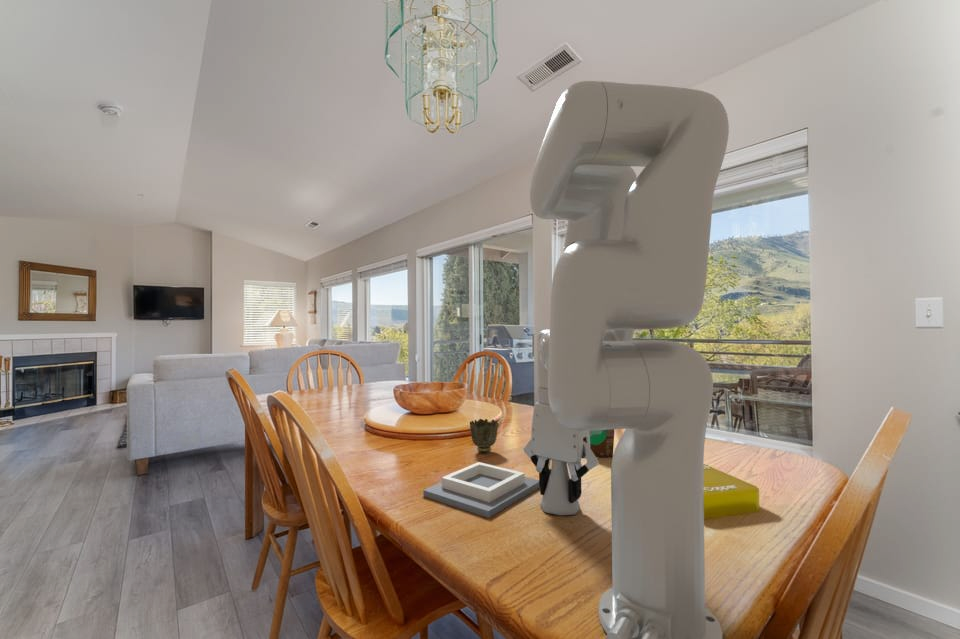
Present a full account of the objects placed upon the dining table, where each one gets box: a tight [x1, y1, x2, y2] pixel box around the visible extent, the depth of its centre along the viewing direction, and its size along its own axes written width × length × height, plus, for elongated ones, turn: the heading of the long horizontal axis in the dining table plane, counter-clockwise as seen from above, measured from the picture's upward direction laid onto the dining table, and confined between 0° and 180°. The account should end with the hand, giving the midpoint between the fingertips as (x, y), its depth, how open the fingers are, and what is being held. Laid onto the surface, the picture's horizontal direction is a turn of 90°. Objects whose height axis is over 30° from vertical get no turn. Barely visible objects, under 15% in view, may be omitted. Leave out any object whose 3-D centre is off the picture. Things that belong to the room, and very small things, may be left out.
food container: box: [589, 429, 616, 459], centre depth 111 cm, size 12×6×10 cm, turn 25°
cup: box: [469, 418, 499, 454], centre depth 113 cm, size 8×7×8 cm
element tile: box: [703, 463, 760, 520], centre depth 82 cm, size 15×15×5 cm
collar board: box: [422, 461, 540, 519], centre depth 87 cm, size 18×16×3 cm
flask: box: [539, 460, 581, 516], centre depth 79 cm, size 7×7×10 cm
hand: (559, 495), depth 79 cm, fingers closed on flask, 5 cm apart
